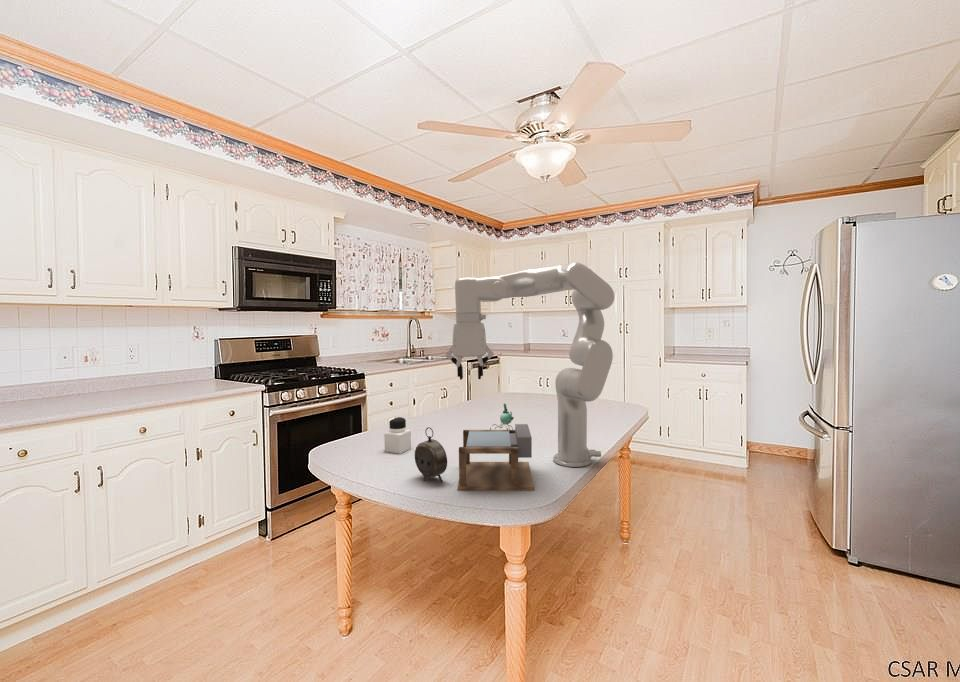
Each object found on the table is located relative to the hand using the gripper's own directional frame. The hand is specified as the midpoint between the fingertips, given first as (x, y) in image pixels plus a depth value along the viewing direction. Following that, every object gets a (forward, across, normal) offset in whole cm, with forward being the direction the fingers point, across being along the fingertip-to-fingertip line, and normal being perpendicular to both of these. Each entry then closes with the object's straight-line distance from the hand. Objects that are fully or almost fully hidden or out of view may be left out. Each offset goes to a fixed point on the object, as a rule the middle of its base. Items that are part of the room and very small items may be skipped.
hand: (470, 378), depth 136 cm
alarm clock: (+31, +13, +2) cm, 34 cm away
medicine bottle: (+31, +29, -26) cm, 50 cm away
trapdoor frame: (+31, -7, 0) cm, 32 cm away
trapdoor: (+22, -8, 0) cm, 24 cm away
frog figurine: (+32, -10, -43) cm, 55 cm away
